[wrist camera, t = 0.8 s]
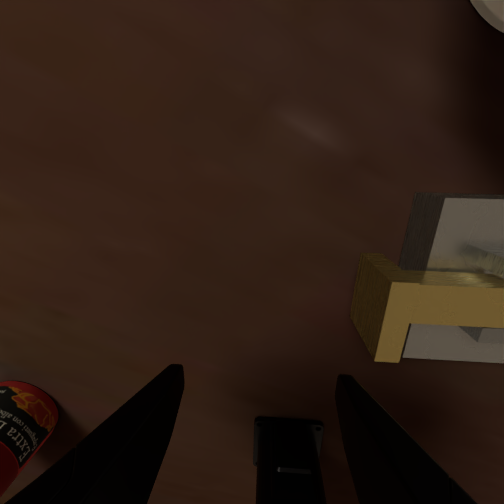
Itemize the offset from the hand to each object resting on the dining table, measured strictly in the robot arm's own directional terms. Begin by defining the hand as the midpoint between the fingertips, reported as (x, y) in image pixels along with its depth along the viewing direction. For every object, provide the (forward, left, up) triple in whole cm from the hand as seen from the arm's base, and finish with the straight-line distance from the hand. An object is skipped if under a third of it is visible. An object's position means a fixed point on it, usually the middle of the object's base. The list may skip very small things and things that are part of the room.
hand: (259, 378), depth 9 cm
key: (0, -10, -8) cm, 12 cm away
